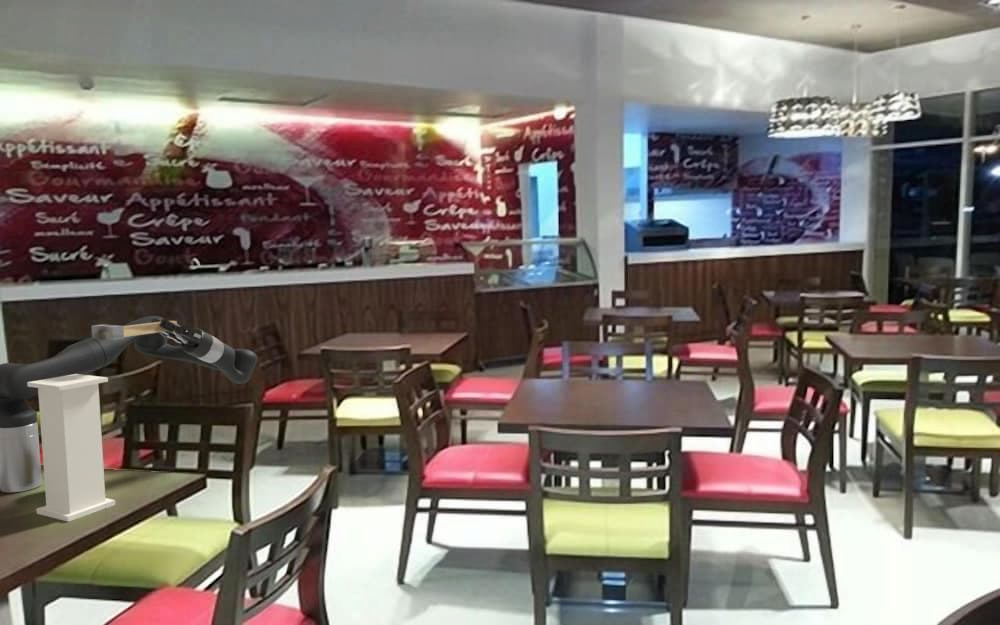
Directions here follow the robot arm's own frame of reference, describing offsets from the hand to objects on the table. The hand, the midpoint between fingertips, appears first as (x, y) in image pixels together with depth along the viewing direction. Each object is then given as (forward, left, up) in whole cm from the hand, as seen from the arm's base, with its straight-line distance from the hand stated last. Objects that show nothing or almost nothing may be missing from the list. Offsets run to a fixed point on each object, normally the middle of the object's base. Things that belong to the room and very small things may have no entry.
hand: (157, 322), depth 196 cm
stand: (0, -26, -43) cm, 50 cm away
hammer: (0, -6, -3) cm, 6 cm away
